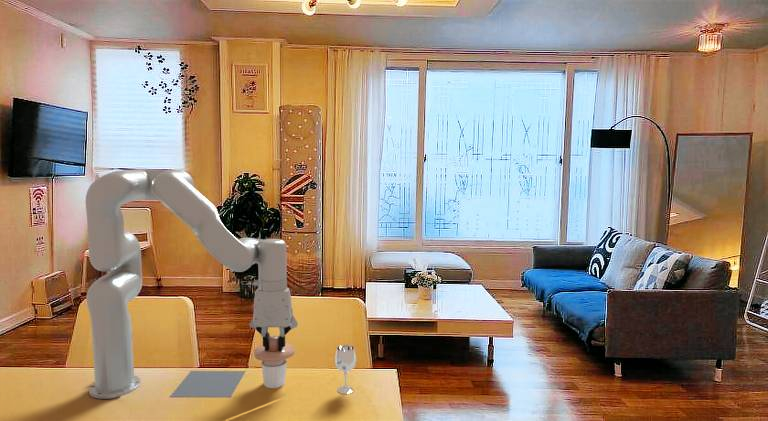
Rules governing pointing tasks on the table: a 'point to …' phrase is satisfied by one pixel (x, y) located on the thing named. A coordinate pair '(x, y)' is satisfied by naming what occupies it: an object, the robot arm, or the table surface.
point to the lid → (273, 351)
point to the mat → (209, 384)
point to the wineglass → (345, 364)
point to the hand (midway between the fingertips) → (274, 348)
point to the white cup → (274, 373)
